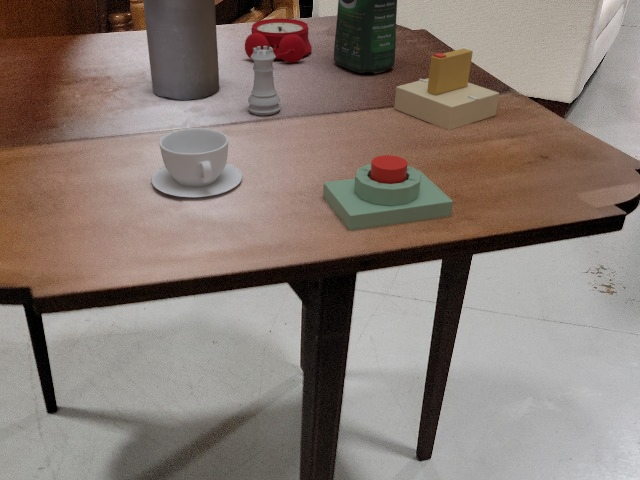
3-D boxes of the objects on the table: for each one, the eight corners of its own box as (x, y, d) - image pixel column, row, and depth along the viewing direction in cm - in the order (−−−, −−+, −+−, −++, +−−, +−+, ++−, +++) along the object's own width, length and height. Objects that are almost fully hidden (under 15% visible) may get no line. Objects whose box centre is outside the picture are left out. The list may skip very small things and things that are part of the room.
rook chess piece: (286, 107, 100) (286, 46, 95) (272, 118, 96) (271, 55, 92) (256, 103, 101) (255, 42, 96) (242, 113, 98) (239, 51, 93)
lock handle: (458, 83, 98) (464, 46, 95) (467, 86, 97) (473, 48, 94) (426, 92, 95) (431, 54, 92) (435, 95, 94) (440, 57, 91)
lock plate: (496, 115, 97) (500, 91, 95) (448, 130, 93) (452, 106, 91) (440, 95, 103) (443, 72, 101) (393, 108, 99) (395, 85, 97)
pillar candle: (212, 76, 111) (205, -35, 101) (225, 97, 103) (220, -21, 94) (147, 82, 109) (135, -31, 99) (157, 103, 101) (144, -16, 92)
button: (397, 169, 76) (398, 153, 75) (411, 183, 73) (413, 166, 72) (364, 173, 75) (366, 157, 74) (378, 188, 72) (379, 171, 71)
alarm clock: (316, 19, 123) (305, 19, 109) (314, 59, 125) (303, 64, 112) (255, 17, 124) (237, 17, 111) (254, 57, 127) (237, 62, 113)
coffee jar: (402, 70, 113) (416, -68, 101) (360, 78, 110) (369, -64, 98) (365, 54, 119) (374, -77, 108) (325, 62, 116) (329, -73, 105)
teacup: (143, 171, 83) (138, 130, 80) (226, 158, 86) (224, 118, 83) (164, 208, 76) (159, 165, 73) (254, 192, 79) (253, 150, 76)
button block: (417, 184, 80) (421, 153, 78) (450, 216, 74) (455, 184, 72) (322, 197, 78) (323, 165, 76) (349, 231, 72) (351, 198, 70)
